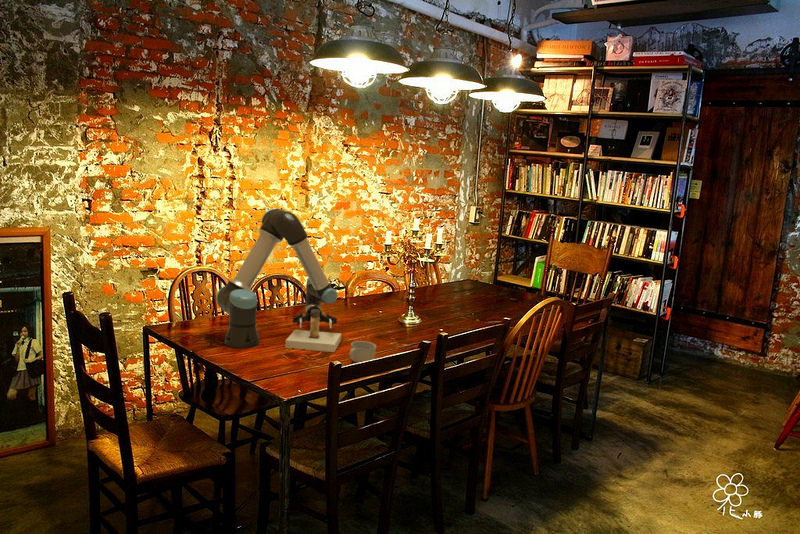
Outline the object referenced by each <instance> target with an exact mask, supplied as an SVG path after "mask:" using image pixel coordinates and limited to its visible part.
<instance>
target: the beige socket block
mask: <svg viewBox="0 0 800 534" xmlns="http://www.w3.org/2000/svg"><path fill="white" fill-rule="evenodd" d="M341 341H342V333H340V332H339V333H338V332H327V331H319V338H318V339H316V338H310V330H306V329H294V330H293V331H292V333H291V334H290V335H289V336H288V337H287V338H286V339H285V347H284V348H286V349H292V348H294V349H296V350H303V349H305V350H304V351H307V350H308V351H315V352H317V351H318V352H325V353H335V352H336V351H337V348H338V346H339V345H340V343H341Z"/></svg>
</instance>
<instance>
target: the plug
mask: <svg viewBox="0 0 800 534" xmlns="http://www.w3.org/2000/svg"><path fill="white" fill-rule="evenodd" d="M319 321H320V310H318V309H312V310H311V322H310V324H309V325H310V327H309V328H310V329H309V331H310V338H316V339H318V338H319V332H320V322H319Z"/></svg>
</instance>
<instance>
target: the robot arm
mask: <svg viewBox="0 0 800 534" xmlns="http://www.w3.org/2000/svg"><path fill="white" fill-rule="evenodd" d="M283 239H285V241H286V243H287V244H288V246H290V247H291V248H292V250H293V251H294V253H295V254H296V256H297V259H298V261H299V262H300V264H301V266H302V268H303V270H304V272H305V274H306V276H307V278H306V285H305V286H306V291H305V304H304V305H305V306H304V310H305V314H304V313H303V312H300V313H299V314H298V315H296V316H293V318H292V323H293V324H296V326H299V328H300V329H301V328H302V323H305V322H306V323H307V322H309V323H311V310H312V309H318V310H320V321H319V323H321V322H322V323H326V324H328V326H329V329H332V328H333V326H334V325H337V322H338V319H337V318H336V317H334V316H332V315H330V314H329V313H326V314H323V313H322V306H321V305H322V302H323V303H324V304H327V305H330V304H331V305H332V304H334V303H335V302H336V301H337V299H338V293H337V290H335V289H334V288H333V287H332V286H331V284H330V282H329V280H328V279H327V276H326V275H325V273H324V270H323V268H322V267H321V265H320V263H319V261H318V258H317V256H316V255H315V252H314V251H313V249H312V247H311V244H310V243H309V241H308V234H307V232H306V230H305V228H304V226H303V224H302V222H301V221H300V219H299V217H298V216H297V215H296V214H294V213H293V212H291V211H287V210H284V209H281V208H272V209H269V210H267V211H266V212H265V213H263V215H262V218H261V226H260V228H259V236H258V238H257V239H256V240H255V243H254V245H253V246H252V248H251V249H250V251H249V253H248V255H247V256H246V258H245V259H244V261H243V262H242V265H241V266H240V268H239V270H238V272H237V273H236V275H235V277H234V278H231V279H228V282H227V283H226V285H224V286H222V287H221V288H219V289H218V291H217V294H216V296H215V297H216V305H217V306H218V307H219V308H220V309H221V310H222V311H223V312H225V313H227V314H228V315H229V317H228V318H229V321H228V322H229V325H228V329H227V332H226V333H225V335H224V336H225V338H224V345H226V346H228V347H230V348H237V349H246V348H248V349H249V348H253V347H257V346H259V345H260V335H259V332H258V329H257V307H258V305H257V304H258V300H257V295H256V292H254V291H252V289H251V288H252V286H253V284H254V283H255V281H256V279H257V277H258V276H259V274H260V272H261V271H262V268H263V267H264V266H265V264H266V262H267V260H268V258H269V257H270V255H271V254H272V252H273V250H274V248H275V247H276V245H277V244H278V243H281V242H282V241H283Z"/></svg>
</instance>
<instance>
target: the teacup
mask: <svg viewBox="0 0 800 534" xmlns="http://www.w3.org/2000/svg"><path fill="white" fill-rule="evenodd" d="M350 345H351V346H350V350H349V357H350V359H351V360H352V361H353V362H354V363H355V362H360V361H366V360H371V359H374V360H375V358H376V357H375V356H376V352H377V351H376V350H377V345H376V344H375V343H373V342H369V341H366V340H365V341H364V340H355V341H352V342H351V344H350Z"/></svg>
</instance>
